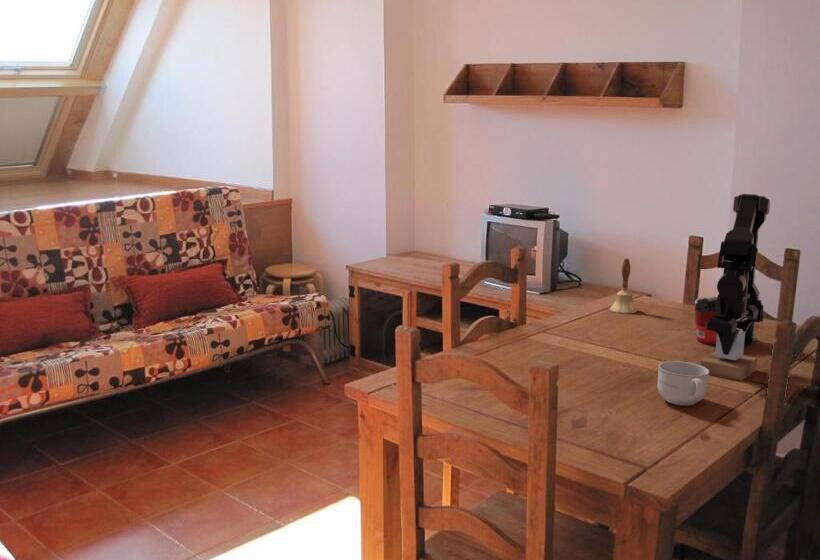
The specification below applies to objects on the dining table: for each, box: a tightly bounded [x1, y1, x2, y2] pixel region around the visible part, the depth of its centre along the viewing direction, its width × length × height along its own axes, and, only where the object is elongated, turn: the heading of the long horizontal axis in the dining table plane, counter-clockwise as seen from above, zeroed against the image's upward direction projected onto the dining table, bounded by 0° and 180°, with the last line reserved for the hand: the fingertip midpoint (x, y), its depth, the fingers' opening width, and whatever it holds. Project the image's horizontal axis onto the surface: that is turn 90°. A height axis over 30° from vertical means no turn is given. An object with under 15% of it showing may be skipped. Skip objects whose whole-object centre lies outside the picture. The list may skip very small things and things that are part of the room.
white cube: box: [715, 328, 745, 360], centre depth 219 cm, size 5×5×7 cm
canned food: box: [694, 296, 723, 345], centre depth 243 cm, size 8×8×11 cm
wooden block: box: [700, 350, 758, 382], centre depth 221 cm, size 10×10×4 cm
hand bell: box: [609, 258, 639, 315], centre depth 273 cm, size 8×8×16 cm
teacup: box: [656, 360, 710, 406], centre depth 200 cm, size 14×11×8 cm
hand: (729, 351), depth 220 cm, fingers closed on white cube, 5 cm apart
